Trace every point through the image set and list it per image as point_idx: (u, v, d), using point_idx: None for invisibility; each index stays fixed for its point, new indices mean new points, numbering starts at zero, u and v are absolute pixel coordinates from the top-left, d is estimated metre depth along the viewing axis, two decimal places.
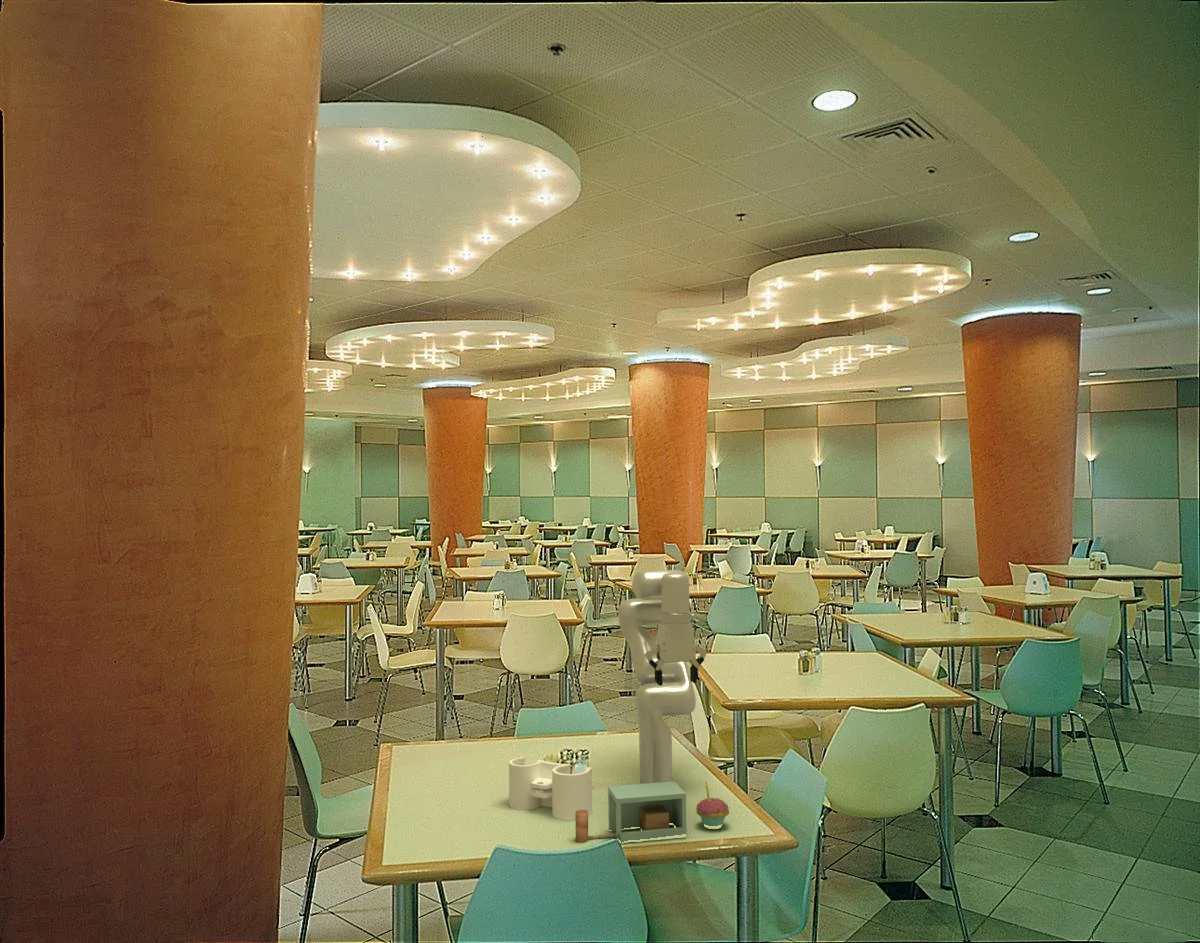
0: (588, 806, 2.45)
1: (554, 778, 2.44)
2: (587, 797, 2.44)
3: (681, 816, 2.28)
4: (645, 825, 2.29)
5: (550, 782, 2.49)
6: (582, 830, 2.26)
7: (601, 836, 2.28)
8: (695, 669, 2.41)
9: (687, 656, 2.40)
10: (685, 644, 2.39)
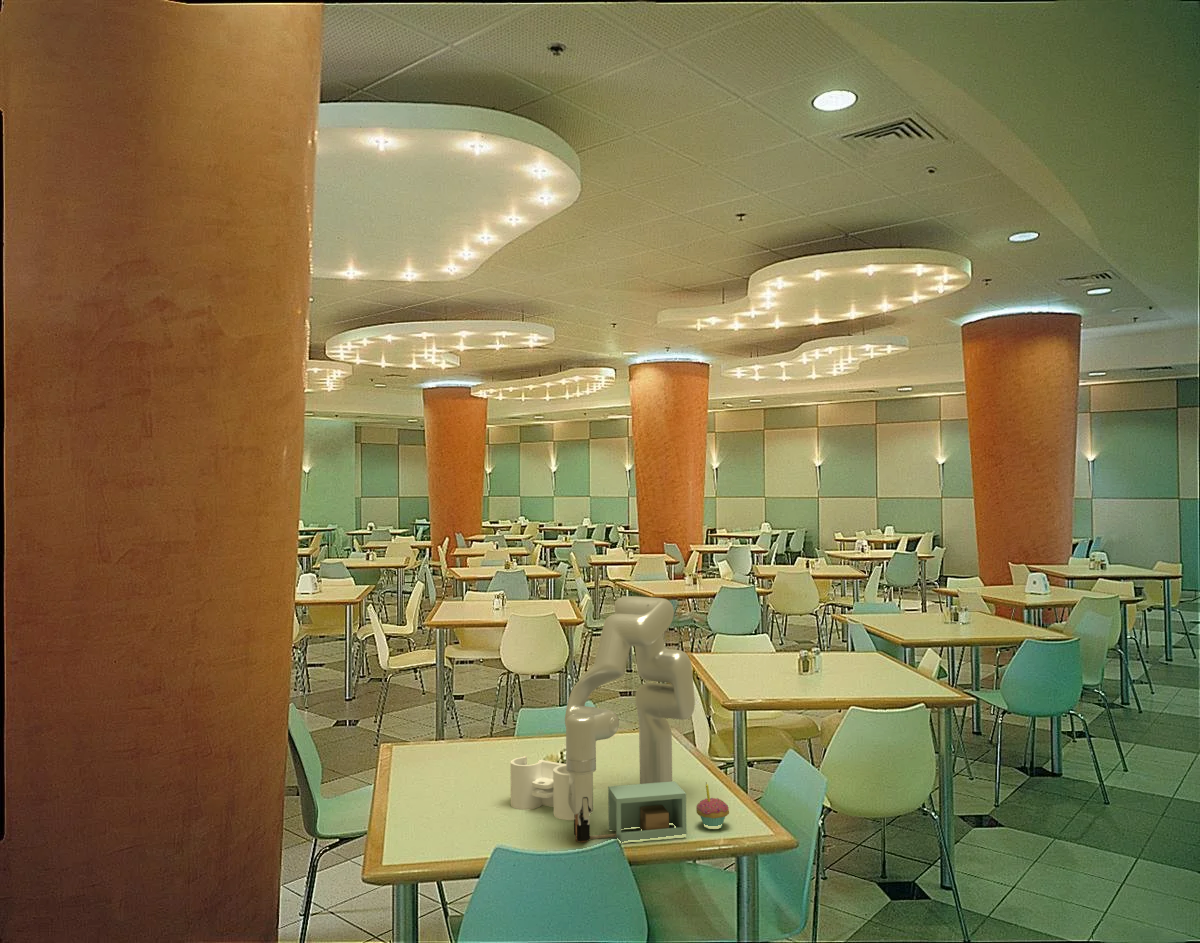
0: None
1: (555, 778, 2.44)
2: None
3: (681, 816, 2.28)
4: (645, 825, 2.29)
5: (551, 782, 2.49)
6: None
7: (601, 836, 2.28)
8: None
9: None
10: None
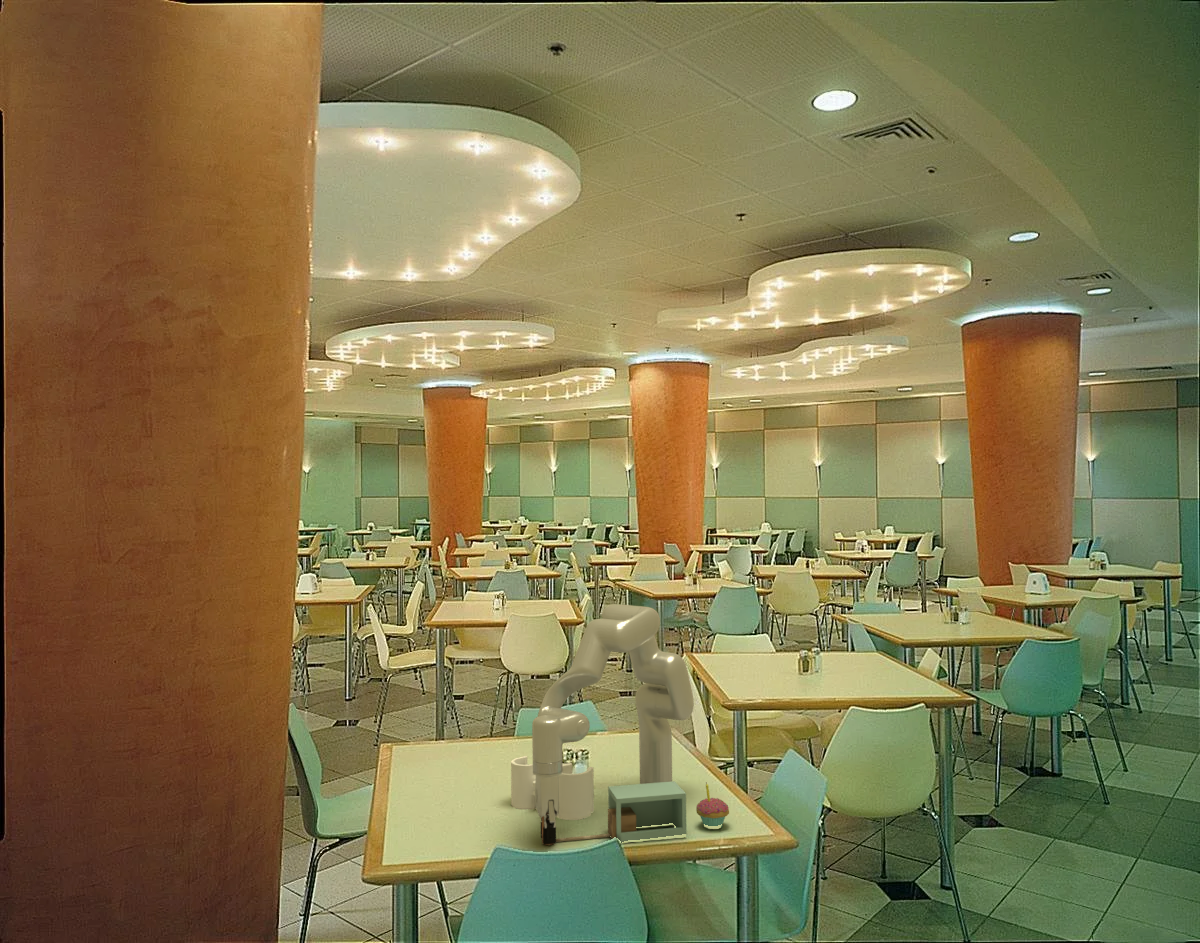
0: (590, 806, 2.45)
1: None
2: (589, 797, 2.44)
3: (681, 816, 2.28)
4: (612, 827, 2.27)
5: None
6: None
7: (568, 839, 2.26)
8: None
9: None
10: None
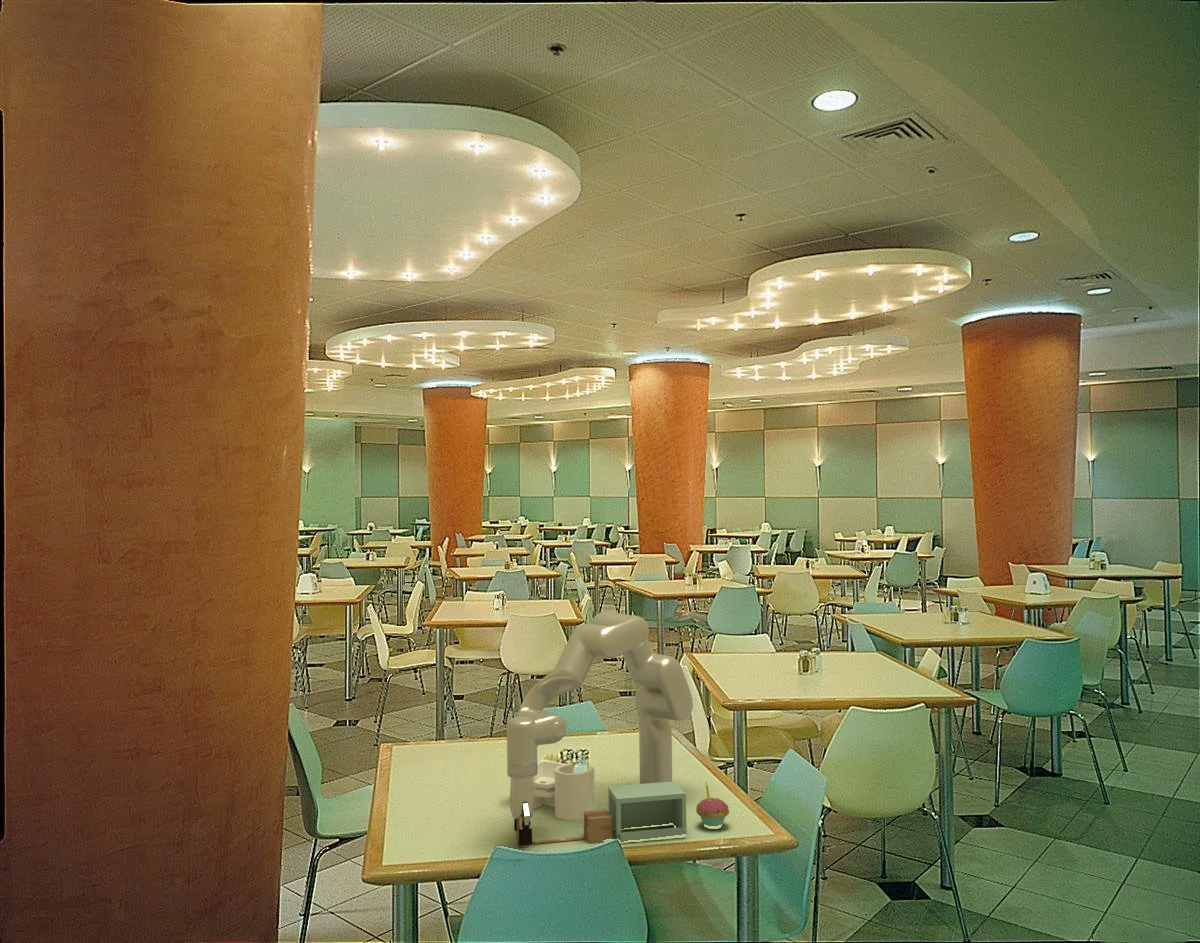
0: (590, 805, 2.45)
1: (556, 777, 2.45)
2: (589, 796, 2.45)
3: (681, 816, 2.28)
4: (588, 830, 2.26)
5: (553, 781, 2.49)
6: None
7: (543, 841, 2.25)
8: None
9: None
10: None
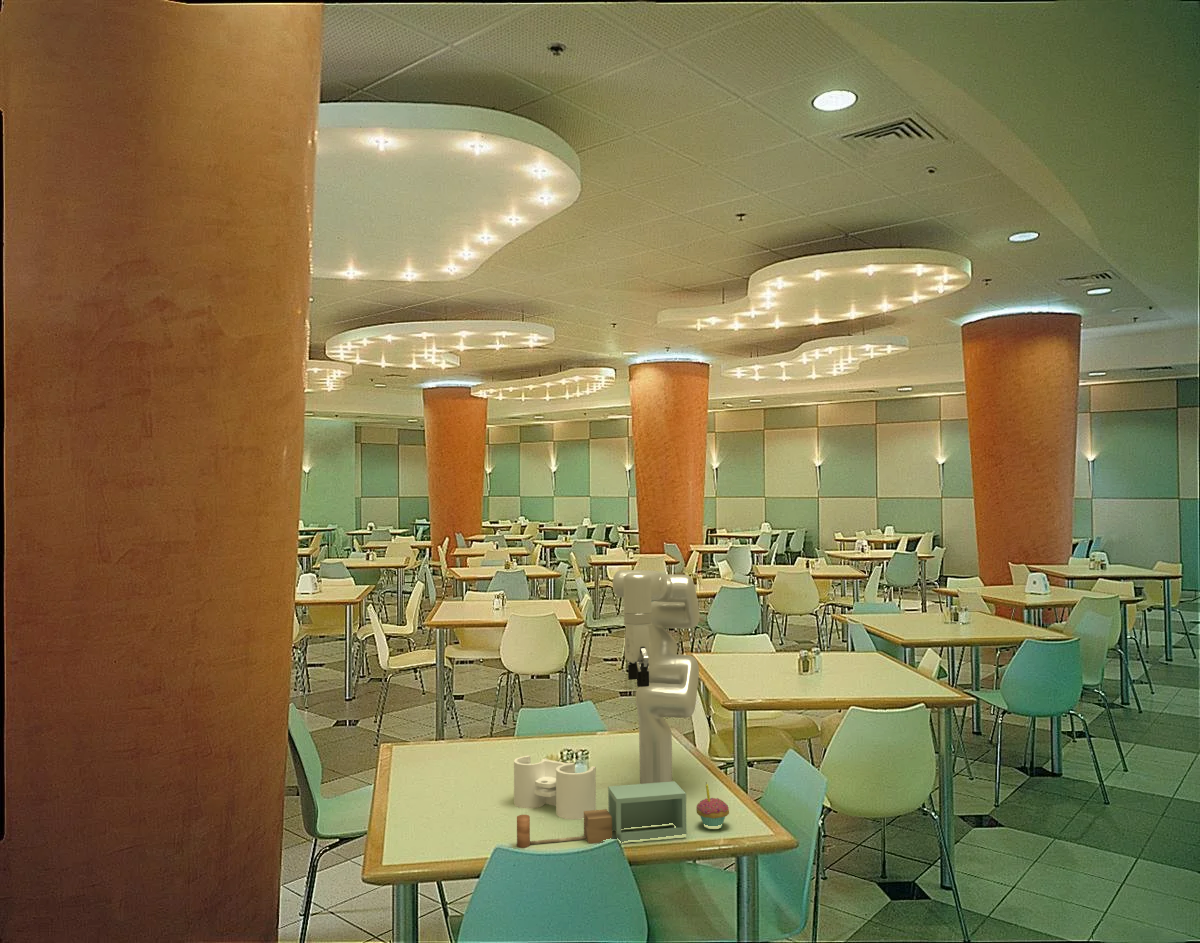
0: (591, 805, 2.45)
1: (558, 777, 2.45)
2: (590, 796, 2.45)
3: (681, 816, 2.28)
4: (588, 830, 2.26)
5: (554, 781, 2.50)
6: (524, 835, 2.23)
7: (543, 841, 2.25)
8: None
9: None
10: None
